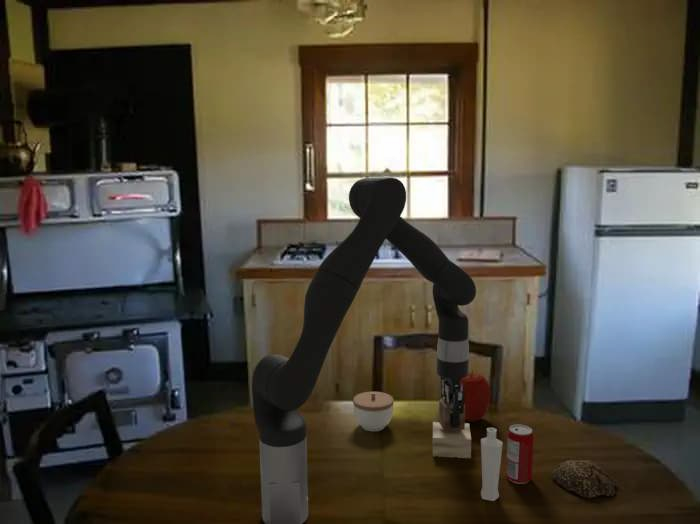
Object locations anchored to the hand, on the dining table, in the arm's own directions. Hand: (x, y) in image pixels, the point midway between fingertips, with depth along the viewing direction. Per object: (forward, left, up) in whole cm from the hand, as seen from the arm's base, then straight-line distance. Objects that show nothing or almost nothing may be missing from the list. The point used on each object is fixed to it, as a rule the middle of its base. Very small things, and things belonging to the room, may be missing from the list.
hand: (451, 422), depth 154 cm
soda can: (-16, -11, -7) cm, 21 cm away
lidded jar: (+15, +17, -7) cm, 24 cm away
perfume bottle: (-22, -2, -7) cm, 23 cm away
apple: (+16, -10, -7) cm, 20 cm away
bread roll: (-20, -25, -7) cm, 33 cm away
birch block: (0, 0, -7) cm, 7 cm away
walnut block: (0, 0, -1) cm, 1 cm away
